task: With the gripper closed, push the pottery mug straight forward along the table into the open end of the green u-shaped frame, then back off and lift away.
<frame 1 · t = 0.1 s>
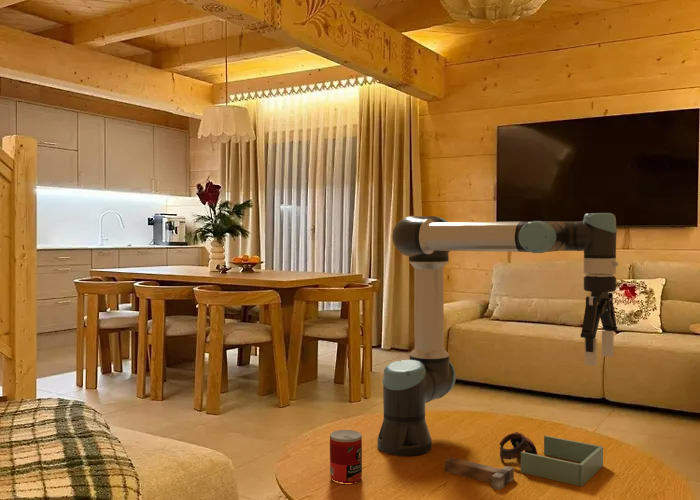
hand: (599, 360, 162), 28 cm above the table, tool pointing down, fingers open, 13 cm apart
canned food: (346, 479, 159), on the table
hammer: (476, 477, 160), on the table
pottery mug: (518, 460, 171), on the table
green u-shaped frame: (561, 468, 164), on the table
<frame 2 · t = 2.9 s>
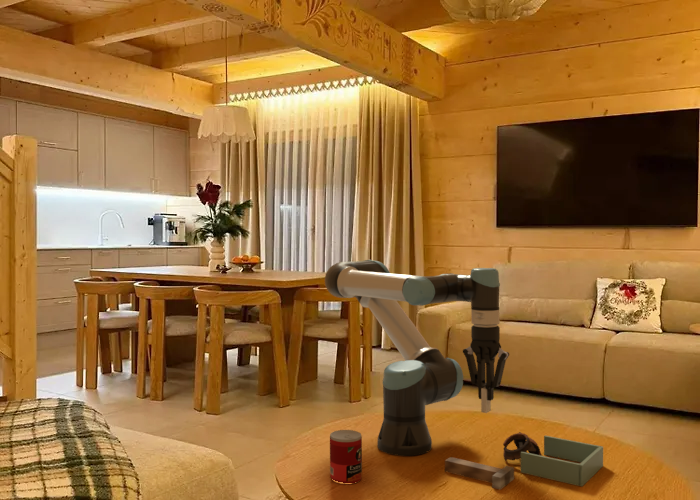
hand: (486, 411, 177), 11 cm above the table, tool pointing down, fingers closed
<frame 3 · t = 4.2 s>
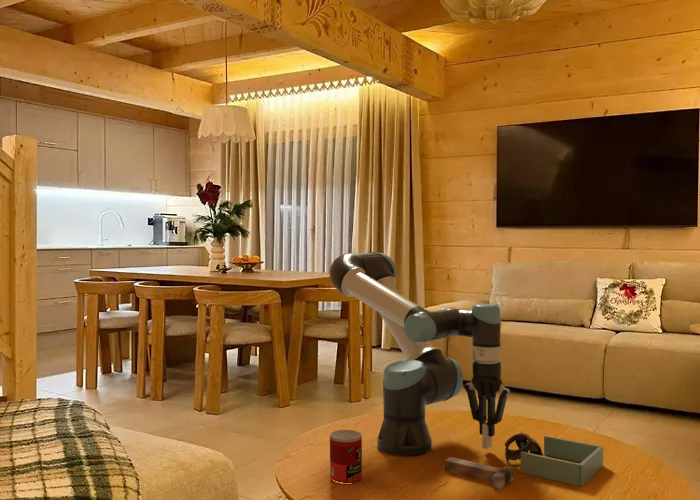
hand: (487, 447, 177), 1 cm above the table, tool pointing down, fingers closed
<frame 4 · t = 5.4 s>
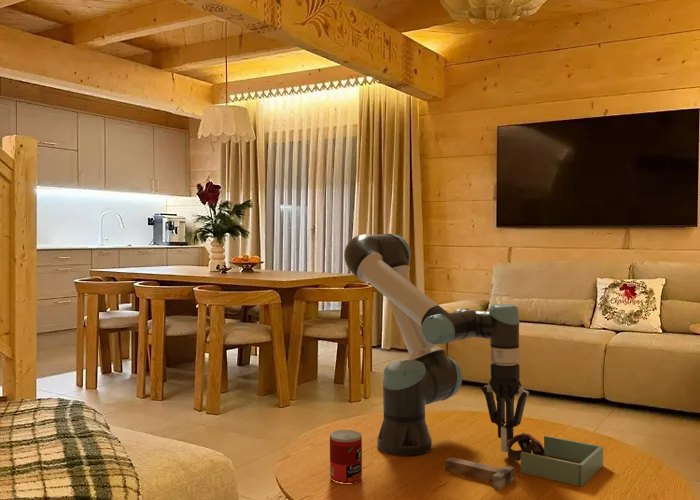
hand: (505, 450, 173), 2 cm above the table, tool pointing down, fingers closed
pottery mug: (526, 461, 170), on the table, touching gripper
everything else where it was.
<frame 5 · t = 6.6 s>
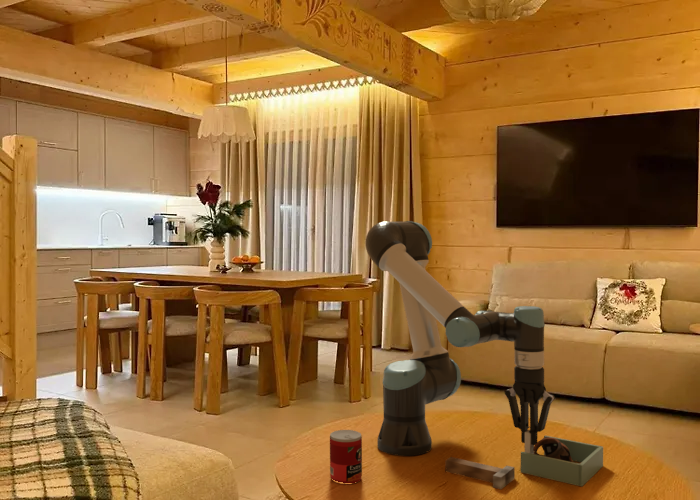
hand: (529, 455, 169), 2 cm above the table, tool pointing down, fingers closed
pottery mug: (552, 466, 167), on the table, touching gripper
everything else where it was.
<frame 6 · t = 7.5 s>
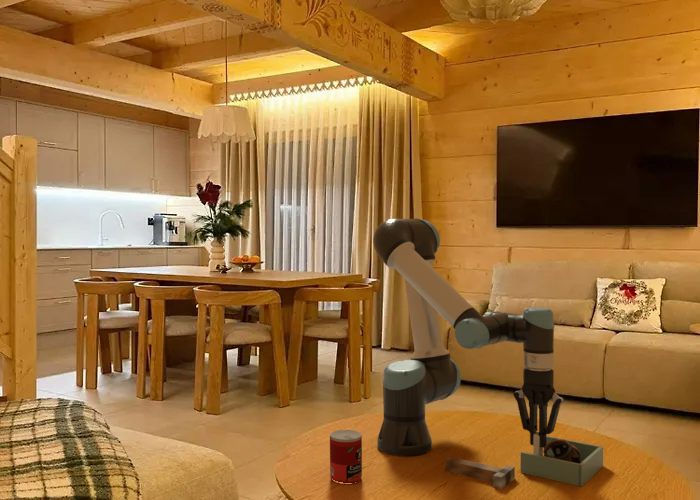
hand: (538, 458, 168), 1 cm above the table, tool pointing down, fingers closed
pottery mug: (562, 468, 165), on the table, touching gripper
everything else where it was.
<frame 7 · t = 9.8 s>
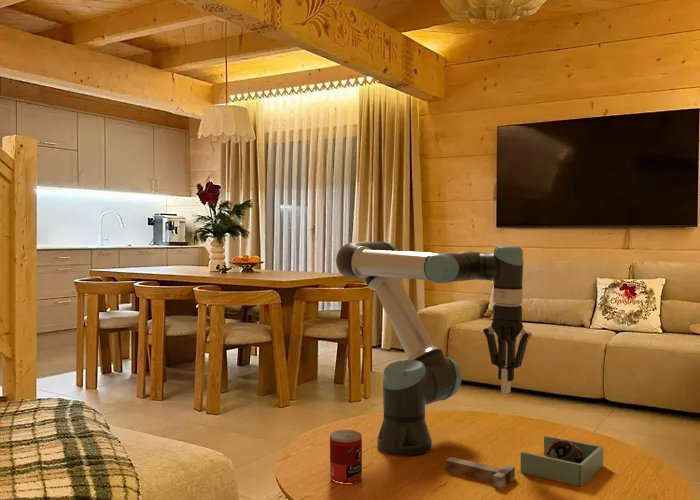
hand: (505, 392, 173), 17 cm above the table, tool pointing down, fingers closed
pottery mug: (564, 468, 165), on the table
everything else where it was.
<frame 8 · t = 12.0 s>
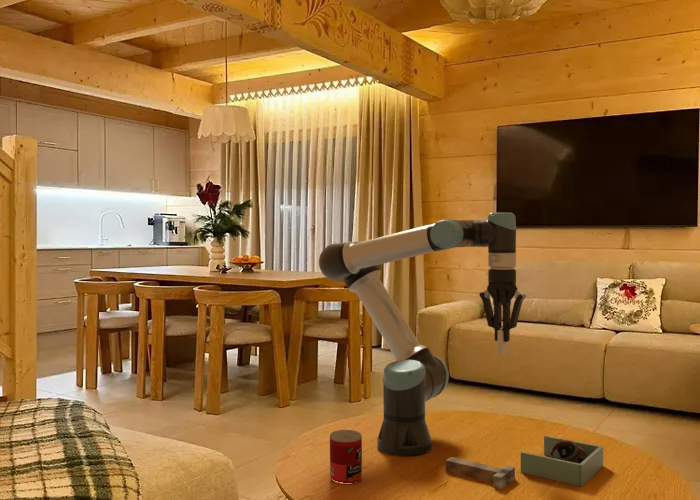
hand: (502, 353, 180), 26 cm above the table, tool pointing down, fingers closed
nothing on the table moved.
at the end: pottery mug inside the target area on the green u-shaped frame (2.0 cm from its centre), point 0.0 cm above the green u-shaped frame's base; pottery mug moved 12.7 cm from its start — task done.
